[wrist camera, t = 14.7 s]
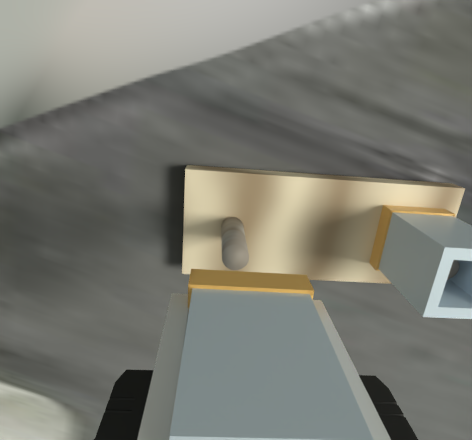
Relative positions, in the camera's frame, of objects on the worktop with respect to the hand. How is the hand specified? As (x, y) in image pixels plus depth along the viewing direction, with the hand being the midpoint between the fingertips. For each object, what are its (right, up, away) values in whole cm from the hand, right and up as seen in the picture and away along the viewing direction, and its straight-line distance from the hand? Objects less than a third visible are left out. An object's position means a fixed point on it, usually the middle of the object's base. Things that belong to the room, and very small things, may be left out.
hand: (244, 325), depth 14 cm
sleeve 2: (+12, +3, +11) cm, 17 cm away
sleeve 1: (0, 0, 0) cm, 0 cm away
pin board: (+6, +4, +12) cm, 14 cm away
